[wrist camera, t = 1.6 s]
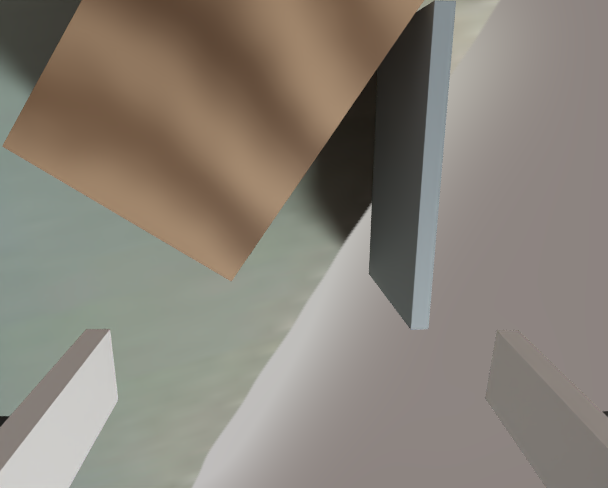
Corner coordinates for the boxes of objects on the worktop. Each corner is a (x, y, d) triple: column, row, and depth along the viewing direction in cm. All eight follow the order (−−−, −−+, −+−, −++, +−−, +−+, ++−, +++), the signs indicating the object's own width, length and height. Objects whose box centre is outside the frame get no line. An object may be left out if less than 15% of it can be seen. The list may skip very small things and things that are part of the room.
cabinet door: (378, 35, 35) (434, 0, 24) (413, 36, 35) (483, 1, 24) (368, 273, 40) (410, 329, 30) (399, 272, 40) (451, 327, 30)
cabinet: (237, 231, 38) (231, 281, 27) (84, 136, 35) (2, 146, 23) (376, 25, 35) (437, -20, 23) (222, -103, 31) (206, -229, 20)
